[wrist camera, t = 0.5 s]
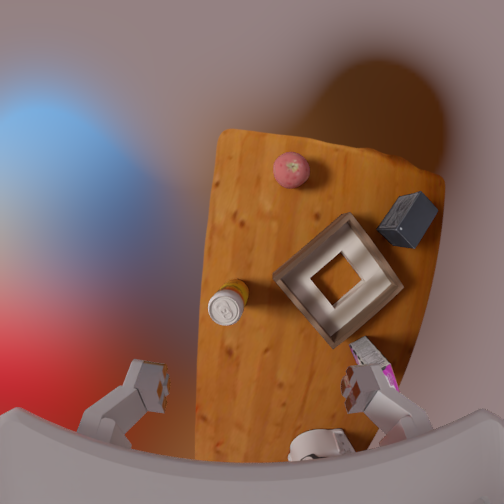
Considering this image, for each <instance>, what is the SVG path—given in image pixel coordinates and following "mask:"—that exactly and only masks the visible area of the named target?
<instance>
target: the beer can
mask: <svg viewBox="0 0 504 504" xmlns="http://www.w3.org/2000/svg"><path fill="white" fill-rule="evenodd" d="M248 296H249V290H248V287H247V285H246V284H245V283H244V282H242V281H241V280H238V279H232V280H229V281H227V282H226V283H225V284H224V285H223V286H222V287H221V288H220V289H219V290H218V291H217V293H216V294H215V295H214V296H213V297H212V298H211V299H210V301H209V304H208V312H209V314H210V316H211V318H212V319H213V321H215V322H216V323H218V324H220V325H232V324H234V323H236V322H237V321H238V320H239V319H240V317H241V315H242V313H243V310H244V307H245V305H246V302H247V299H248Z"/></svg>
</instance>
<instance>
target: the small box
mask: <svg viewBox="0 0 504 504" xmlns="http://www.w3.org/2000/svg"><path fill="white" fill-rule="evenodd" d="M437 212H438V209H437V208H436V207H435V206H434V205H433V204H432V202H431V201H430V200H429V199H428V198H427V197H426V196H425V195H424V194H423V193H422V192H421V191H419V192H416V193H413V194H408V195H404V196H399V197H398V199H397V200H396V202H395V203H394V205H393V206H392V208H391V209H390V211H389V212H388V213H387V215H386V216H385V218H384V219H383V221H382V222H381V223H380V225H379V226H378V228H377V231H378V232H379V233H380V234H382V235H383V236H384V237H385V238H386V239H387V240H388V242H389V243H391V244H392V245H393V246H399V247H407V248H414V249H415V248H416V246H417V245H418V243H419V242H420V240H421V238H422V237H423V235H424V234H425V232H426V230H427V229H428V227H429V225H430V224H431V222H432V220H433V219H434V217H435V215H436V214H437Z"/></svg>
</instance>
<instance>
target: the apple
mask: <svg viewBox="0 0 504 504" xmlns="http://www.w3.org/2000/svg"><path fill="white" fill-rule="evenodd" d="M273 172H274V177H275V178H276V180H277V182H278V183H279V184H280V185H281V186H283V187H285V188H296V187H298V186H300V185H301V184H303V183H304V182H305V181H306V180H307V179H308V177H309V174H310V167H309V164H308V162H307V161H306V159H305V158H304V157H303V156H301V155H300V154H298V153H295V152H287V153H284V154H282V155H281V156H279V157H278V158H277V159H276V161H275V163H274V167H273Z"/></svg>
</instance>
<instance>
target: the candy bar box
mask: <svg viewBox="0 0 504 504" xmlns="http://www.w3.org/2000/svg"><path fill="white" fill-rule="evenodd" d="M349 346H350V349H351V351H352V353H353V356H354V358H355V360H356V363H357V365H363V364H373V363H378V364H380V367H381V369H382V371H383V373H384V375H385V377H386V380H387V382H388V384H389V386H390V388H394V389H395V390H397V391H398V392H400V391H399V387H398V384H397V381H396V378H395V375H394V372H393V369H392V366H391V363H390V362H389V361H388V360H387V359H386V358H385V357H384V356H383V355H382V353H381V352H380V351H379V350H378V349H377V348H376V347H375V346H374V345H373V344H372V343H371V341H370V340H369V339H368V338H367V337H366V336H364V337H362V338H360V339H359V340H357V341H355V342H353V343H351V344H349Z"/></svg>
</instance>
